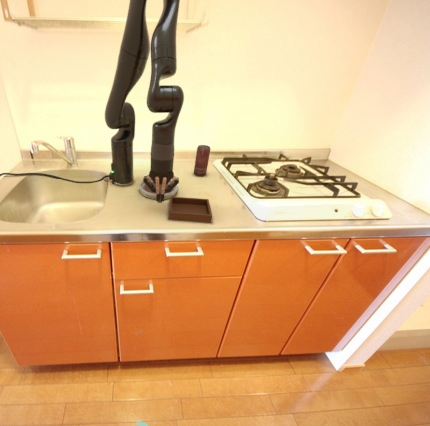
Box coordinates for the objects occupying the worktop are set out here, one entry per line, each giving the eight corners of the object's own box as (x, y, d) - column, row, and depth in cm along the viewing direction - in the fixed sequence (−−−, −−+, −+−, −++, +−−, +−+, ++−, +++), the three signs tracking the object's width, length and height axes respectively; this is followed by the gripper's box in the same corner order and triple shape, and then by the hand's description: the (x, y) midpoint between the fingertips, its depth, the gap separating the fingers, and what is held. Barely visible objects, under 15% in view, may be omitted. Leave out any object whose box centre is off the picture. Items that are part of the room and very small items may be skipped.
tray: (168, 219, 80) (169, 212, 78) (169, 203, 90) (170, 196, 88) (210, 223, 79) (212, 215, 77) (207, 205, 88) (208, 199, 87)
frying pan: (174, 168, 113) (180, 194, 89) (173, 174, 115) (180, 201, 91) (140, 167, 113) (137, 193, 89) (139, 173, 115) (137, 200, 91)
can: (193, 176, 111) (197, 148, 103) (193, 171, 116) (197, 144, 109) (206, 177, 110) (211, 149, 103) (205, 172, 115) (210, 145, 108)
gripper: (182, 152, 76) (177, 197, 86) (143, 151, 77) (143, 195, 87) (183, 160, 70) (178, 208, 79) (140, 158, 71) (140, 205, 81)
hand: (159, 201), depth 83 cm, fingers closed
